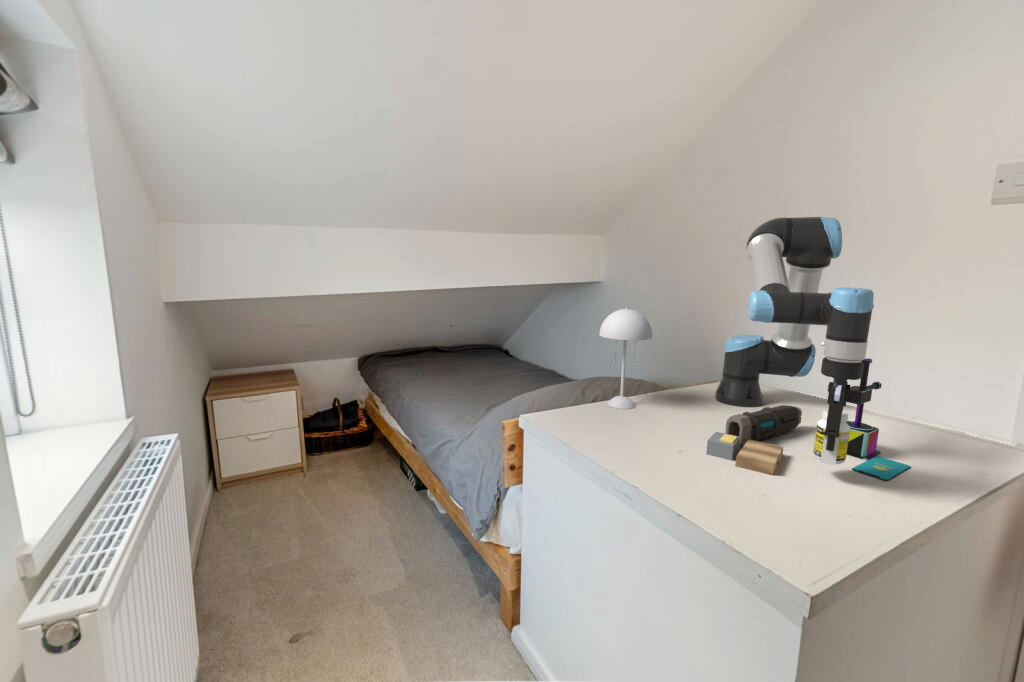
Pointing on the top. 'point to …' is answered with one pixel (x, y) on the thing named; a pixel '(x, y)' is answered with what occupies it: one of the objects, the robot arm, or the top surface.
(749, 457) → the board
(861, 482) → the top surface
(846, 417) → the pill bottle
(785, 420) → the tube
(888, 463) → the smartphone
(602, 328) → the lamp
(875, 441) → the colourful clamp stand
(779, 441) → the top surface
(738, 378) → the robot arm
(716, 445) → the block
